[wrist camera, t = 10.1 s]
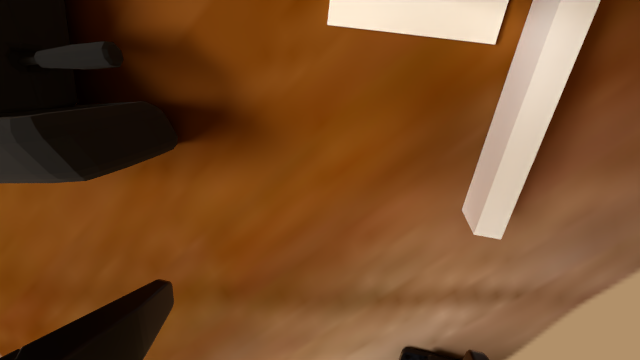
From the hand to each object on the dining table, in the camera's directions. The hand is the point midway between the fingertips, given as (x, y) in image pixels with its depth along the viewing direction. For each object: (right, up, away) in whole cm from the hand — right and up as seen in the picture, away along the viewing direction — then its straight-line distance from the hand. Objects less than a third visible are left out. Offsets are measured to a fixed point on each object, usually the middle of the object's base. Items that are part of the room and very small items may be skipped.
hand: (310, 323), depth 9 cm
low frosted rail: (+11, +9, +8) cm, 17 cm away
